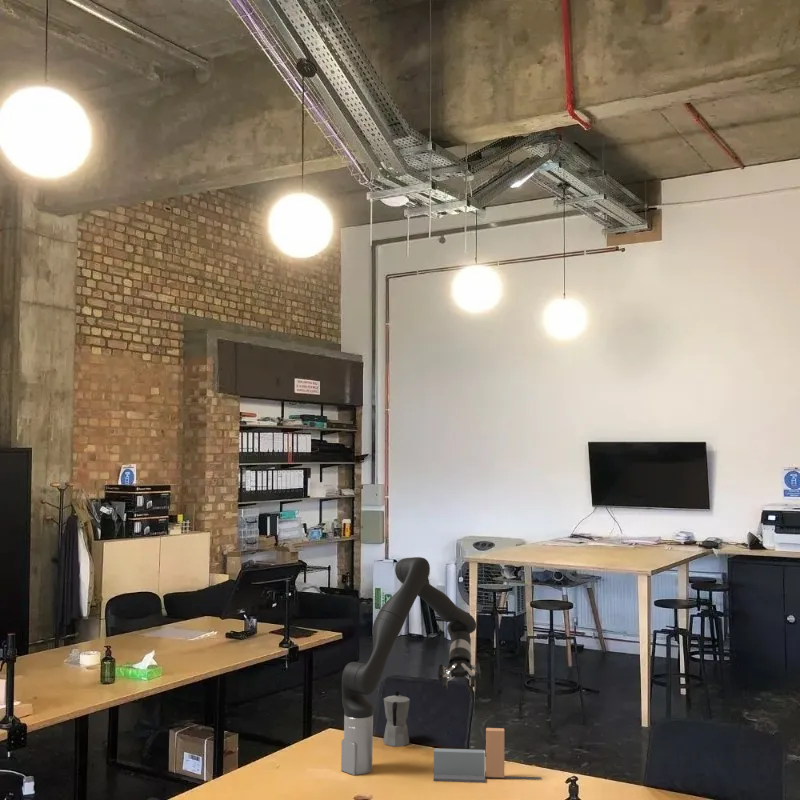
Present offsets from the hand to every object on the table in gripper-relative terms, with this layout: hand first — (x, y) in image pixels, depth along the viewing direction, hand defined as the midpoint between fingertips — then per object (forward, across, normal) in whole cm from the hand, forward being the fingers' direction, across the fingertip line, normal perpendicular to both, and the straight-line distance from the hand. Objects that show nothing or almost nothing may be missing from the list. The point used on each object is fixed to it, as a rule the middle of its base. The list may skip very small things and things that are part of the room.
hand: (458, 687), depth 282 cm
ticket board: (+20, +8, +18) cm, 28 cm away
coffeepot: (-6, -25, +28) cm, 39 cm away
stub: (+20, +10, +19) cm, 29 cm away
